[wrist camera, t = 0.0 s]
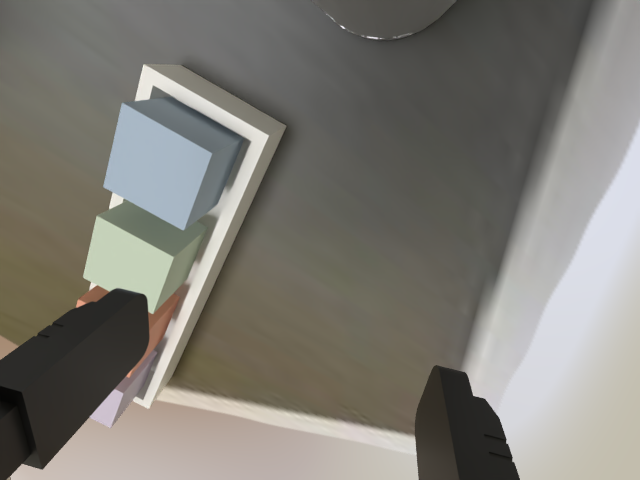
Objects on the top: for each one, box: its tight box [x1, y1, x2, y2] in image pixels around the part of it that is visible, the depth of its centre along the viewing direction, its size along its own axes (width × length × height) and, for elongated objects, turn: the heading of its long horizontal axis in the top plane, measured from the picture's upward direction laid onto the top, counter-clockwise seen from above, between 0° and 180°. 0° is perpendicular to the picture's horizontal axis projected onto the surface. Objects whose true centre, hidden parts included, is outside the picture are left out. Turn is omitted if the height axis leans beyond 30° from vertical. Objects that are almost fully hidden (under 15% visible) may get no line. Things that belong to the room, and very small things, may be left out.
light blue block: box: [103, 97, 244, 231], centre depth 21 cm, size 5×5×4 cm
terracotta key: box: [76, 285, 180, 378], centre depth 27 cm, size 5×5×4 cm
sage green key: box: [83, 200, 208, 314], centre depth 24 cm, size 5×5×4 cm
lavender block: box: [90, 350, 157, 428], centre depth 31 cm, size 5×5×4 cm
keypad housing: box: [89, 64, 286, 409], centre depth 29 cm, size 28×8×4 cm, turn 152°
